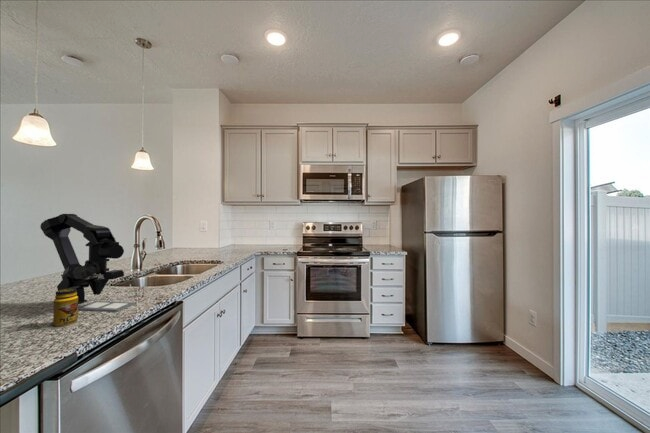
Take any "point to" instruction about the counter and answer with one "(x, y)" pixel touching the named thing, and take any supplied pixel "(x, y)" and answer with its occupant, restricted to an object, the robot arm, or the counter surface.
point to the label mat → (105, 306)
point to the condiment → (65, 309)
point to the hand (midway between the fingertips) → (97, 294)
